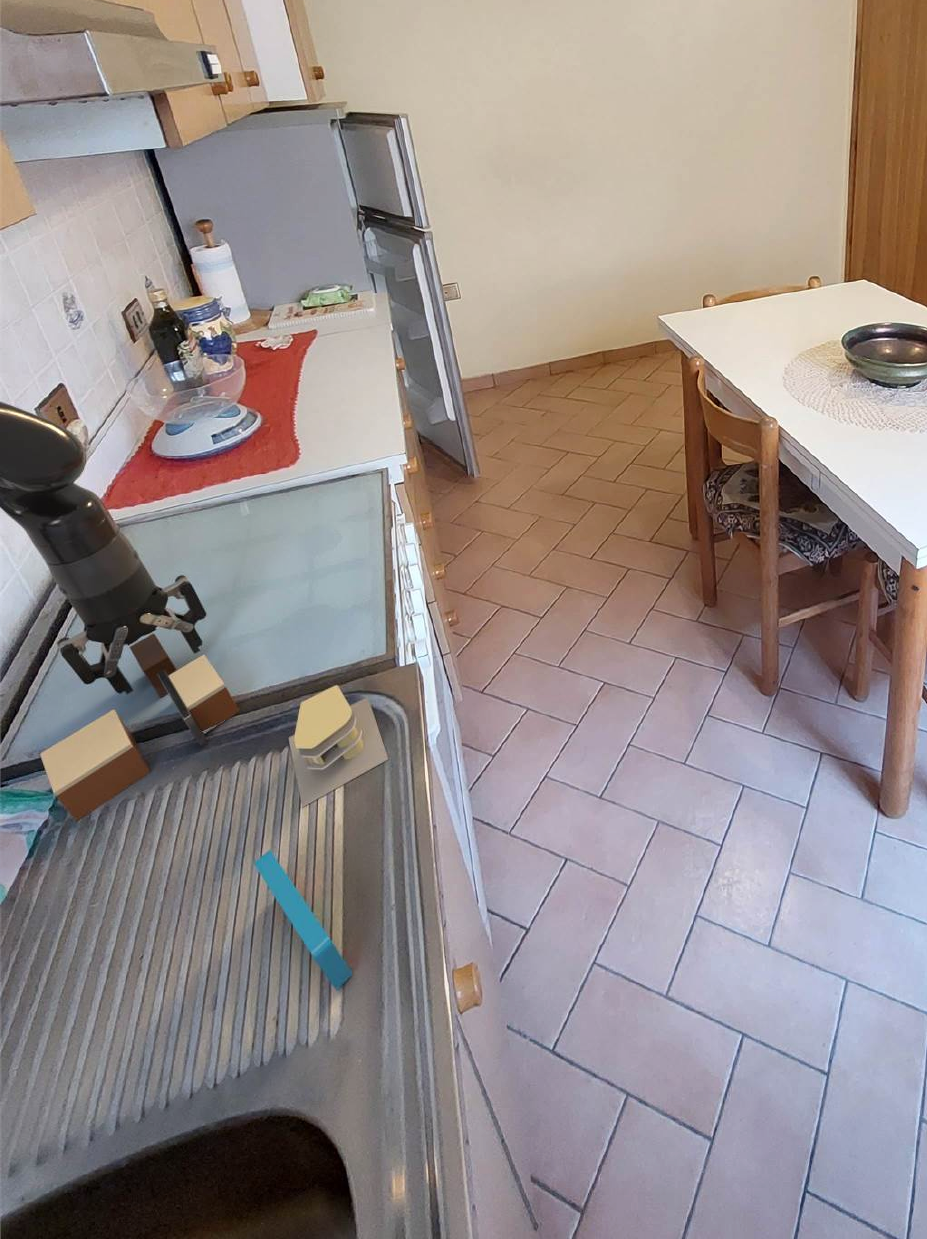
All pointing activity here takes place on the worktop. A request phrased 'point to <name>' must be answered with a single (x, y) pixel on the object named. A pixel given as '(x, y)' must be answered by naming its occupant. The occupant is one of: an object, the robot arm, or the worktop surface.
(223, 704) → the cream topped brown block
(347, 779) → the stacked layers on plate
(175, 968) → the worktop surface
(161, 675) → the knife
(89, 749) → the cake
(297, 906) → the long teal plank
